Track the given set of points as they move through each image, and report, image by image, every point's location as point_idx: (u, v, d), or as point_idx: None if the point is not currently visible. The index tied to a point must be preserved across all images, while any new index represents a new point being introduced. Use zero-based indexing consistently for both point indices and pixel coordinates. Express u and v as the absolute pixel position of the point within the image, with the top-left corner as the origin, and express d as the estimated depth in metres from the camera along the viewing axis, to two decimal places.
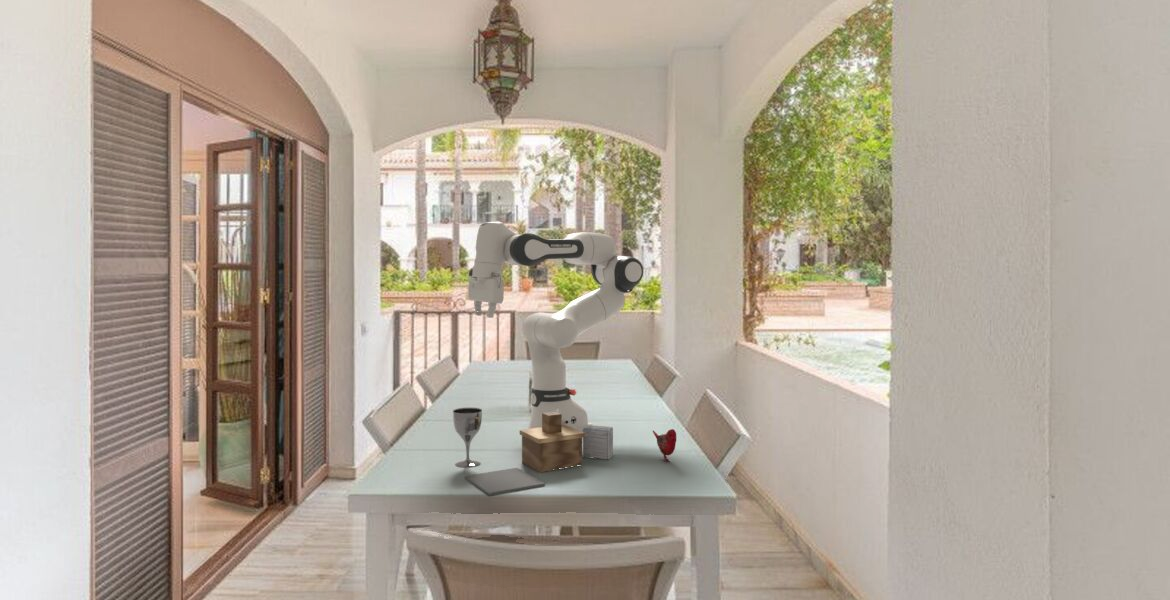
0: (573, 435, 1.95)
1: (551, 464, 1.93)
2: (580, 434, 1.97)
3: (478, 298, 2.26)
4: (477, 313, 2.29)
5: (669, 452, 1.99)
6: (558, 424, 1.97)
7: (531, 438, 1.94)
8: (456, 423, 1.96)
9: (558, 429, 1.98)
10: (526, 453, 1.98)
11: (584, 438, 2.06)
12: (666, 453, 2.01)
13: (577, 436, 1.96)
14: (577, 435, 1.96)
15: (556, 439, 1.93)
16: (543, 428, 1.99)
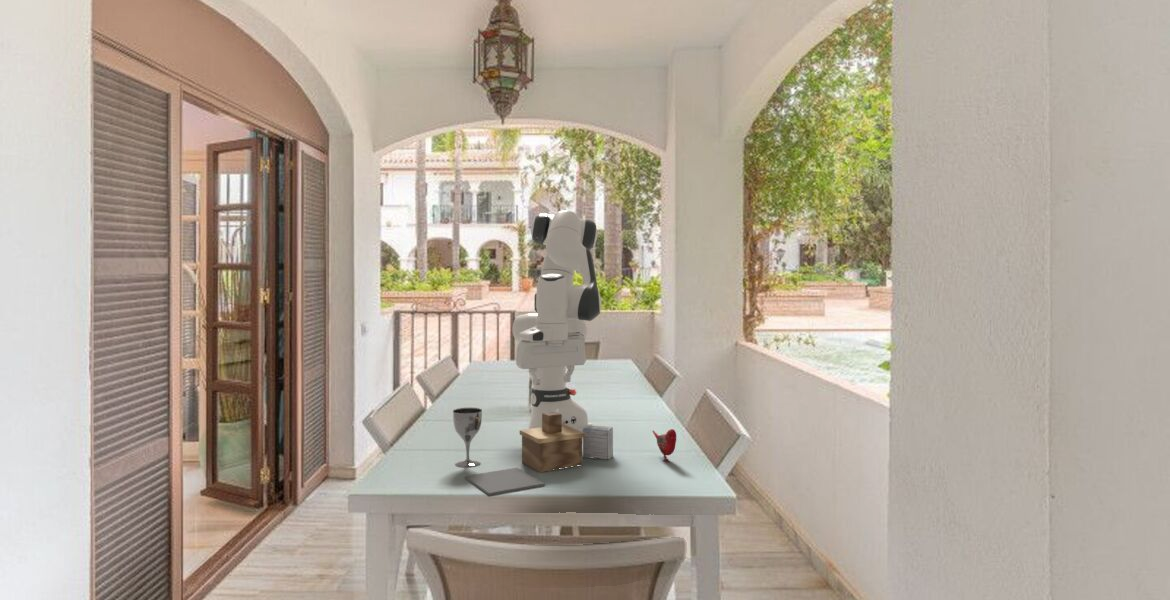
0: (573, 435, 1.95)
1: (551, 464, 1.93)
2: (580, 434, 1.97)
3: (551, 364, 1.96)
4: None
5: (669, 452, 1.99)
6: (558, 424, 1.97)
7: (531, 438, 1.94)
8: (456, 423, 1.96)
9: (558, 429, 1.98)
10: (526, 453, 1.98)
11: (584, 438, 2.06)
12: (666, 453, 2.01)
13: (577, 436, 1.96)
14: (577, 435, 1.96)
15: (556, 439, 1.93)
16: (543, 428, 1.99)
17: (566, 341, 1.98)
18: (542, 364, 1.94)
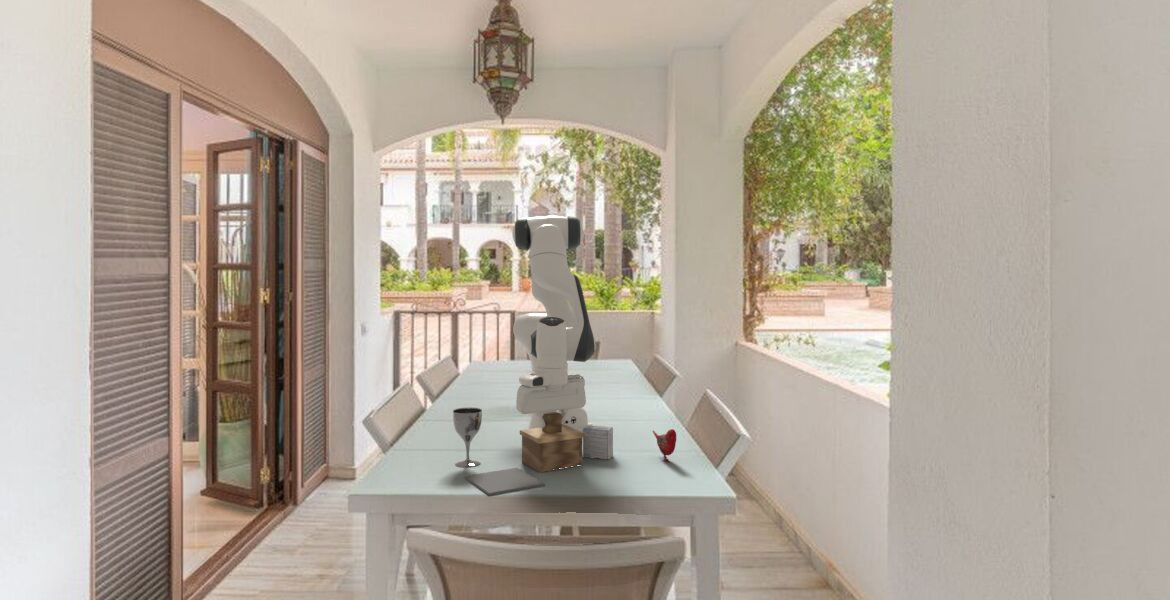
0: (573, 435, 1.95)
1: (551, 464, 1.93)
2: (580, 434, 1.97)
3: (551, 408, 1.96)
4: None
5: (669, 452, 1.99)
6: (558, 424, 1.98)
7: (531, 438, 1.94)
8: (456, 423, 1.96)
9: (558, 429, 1.98)
10: (526, 453, 1.98)
11: (584, 438, 2.06)
12: (666, 453, 2.01)
13: (577, 436, 1.96)
14: (577, 435, 1.96)
15: (556, 439, 1.93)
16: (543, 428, 1.99)
17: (566, 384, 1.98)
18: (542, 408, 1.95)
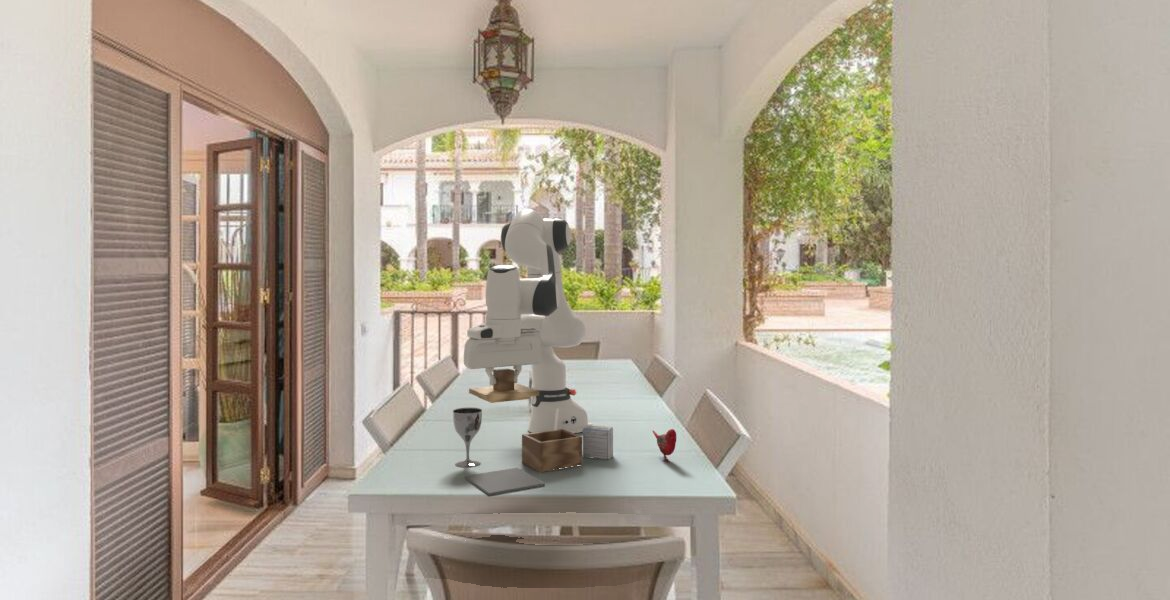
0: (526, 393, 1.79)
1: (551, 464, 1.93)
2: (534, 392, 1.80)
3: (502, 364, 1.80)
4: None
5: (669, 452, 1.99)
6: (510, 381, 1.81)
7: (480, 396, 1.77)
8: (456, 423, 1.96)
9: (510, 387, 1.81)
10: (526, 453, 1.98)
11: (584, 438, 2.06)
12: (666, 453, 2.01)
13: (531, 394, 1.79)
14: (531, 393, 1.79)
15: (507, 396, 1.76)
16: (494, 386, 1.82)
17: (519, 338, 1.82)
18: (492, 363, 1.78)
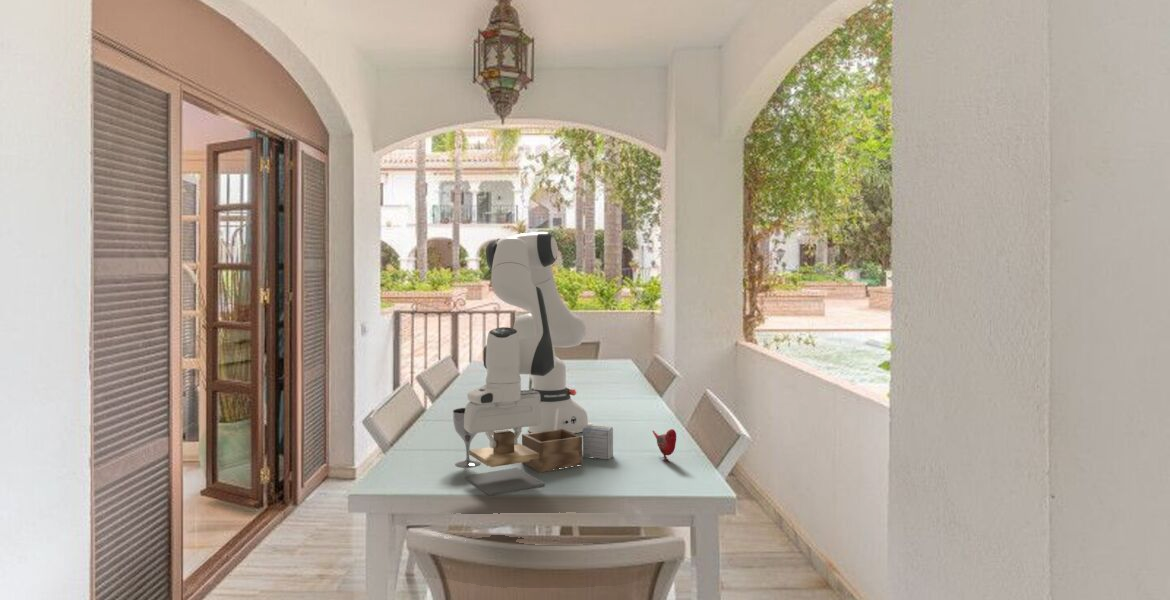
0: (526, 456, 1.80)
1: (551, 464, 1.93)
2: (534, 455, 1.81)
3: (502, 427, 1.80)
4: None
5: (669, 452, 1.99)
6: (510, 444, 1.82)
7: (480, 459, 1.78)
8: (456, 423, 1.96)
9: (510, 449, 1.82)
10: None
11: (584, 438, 2.06)
12: (666, 453, 2.01)
13: (531, 457, 1.80)
14: (531, 456, 1.80)
15: (507, 461, 1.77)
16: (494, 448, 1.83)
17: (519, 401, 1.83)
18: (492, 427, 1.79)
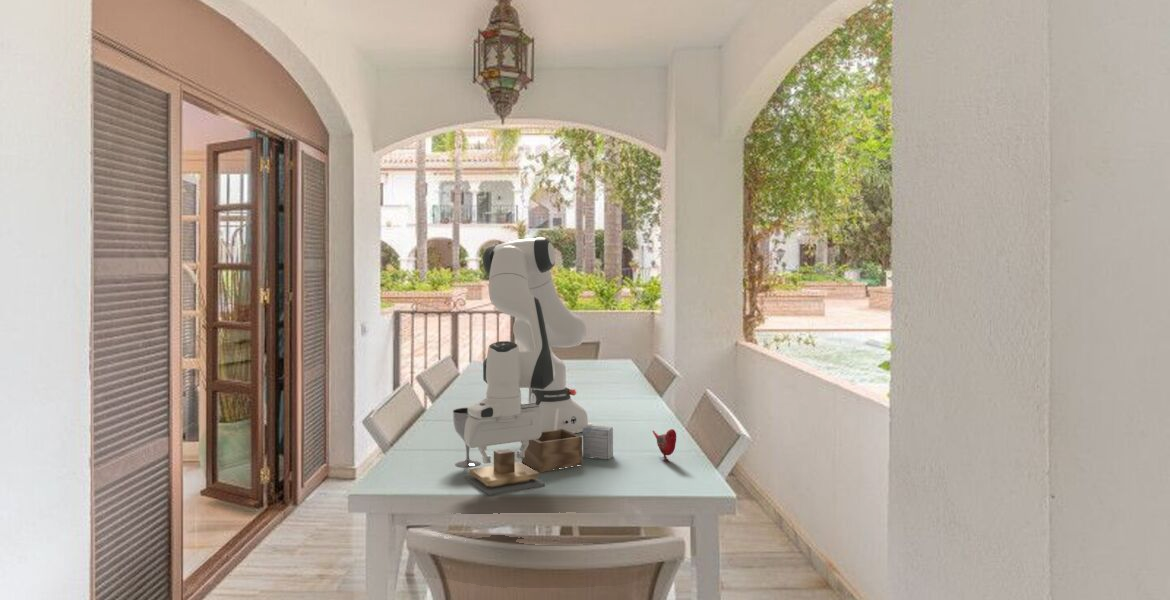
0: (526, 476, 1.80)
1: (551, 464, 1.93)
2: (534, 475, 1.81)
3: (503, 441, 1.81)
4: None
5: (669, 452, 1.99)
6: (511, 463, 1.82)
7: (480, 479, 1.78)
8: (456, 423, 1.96)
9: (511, 469, 1.82)
10: (526, 453, 1.98)
11: (584, 438, 2.06)
12: (666, 453, 2.01)
13: (531, 477, 1.80)
14: (531, 476, 1.80)
15: (507, 481, 1.77)
16: (495, 467, 1.83)
17: (519, 415, 1.83)
18: (492, 441, 1.79)
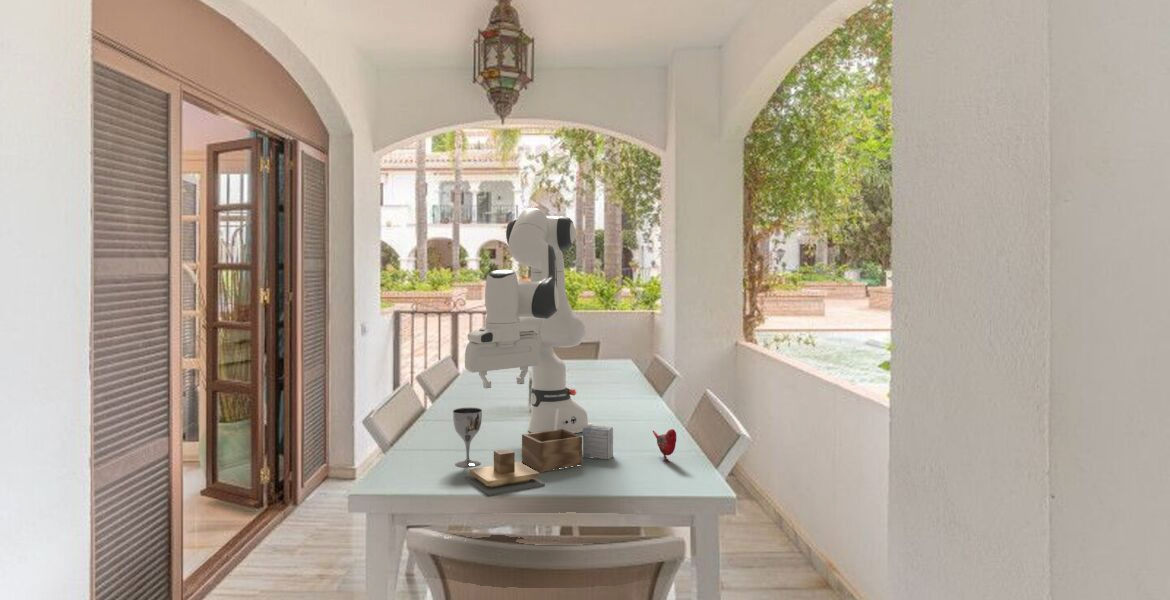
0: (526, 476, 1.80)
1: (551, 464, 1.93)
2: (534, 475, 1.81)
3: (503, 366, 1.84)
4: None
5: (669, 452, 1.99)
6: (511, 463, 1.82)
7: (480, 479, 1.78)
8: (456, 423, 1.96)
9: (511, 469, 1.82)
10: (526, 453, 1.98)
11: (584, 438, 2.06)
12: (666, 453, 2.01)
13: (531, 477, 1.80)
14: (531, 476, 1.80)
15: (507, 481, 1.77)
16: (495, 467, 1.83)
17: (518, 341, 1.86)
18: (492, 366, 1.83)
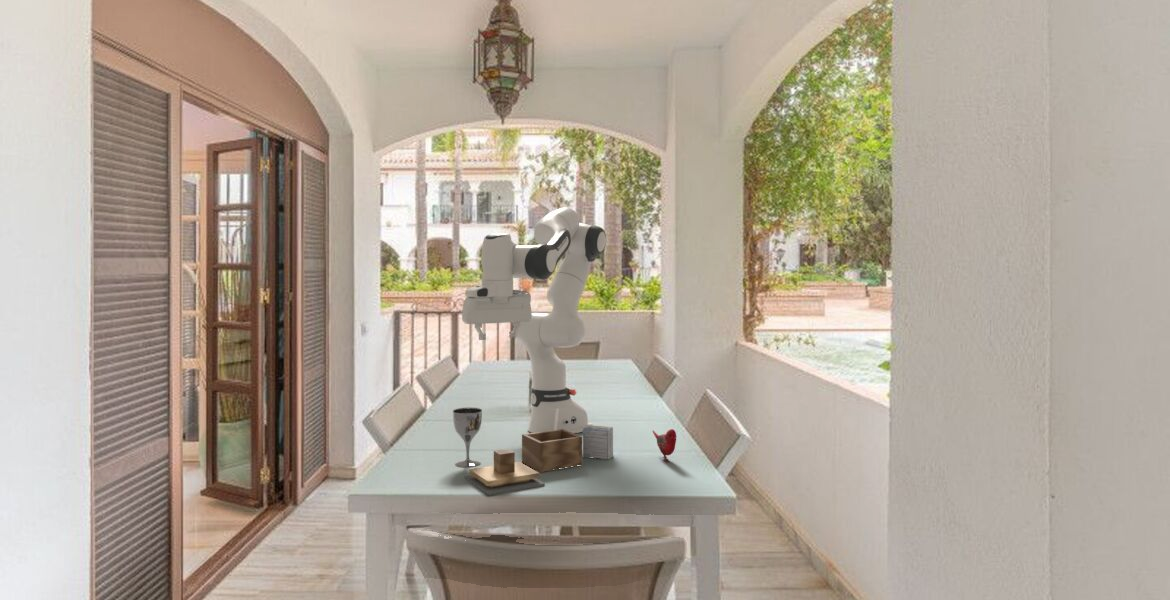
0: (526, 476, 1.80)
1: (551, 464, 1.93)
2: (534, 475, 1.81)
3: (496, 320, 2.02)
4: None
5: (669, 452, 1.99)
6: (511, 463, 1.82)
7: (480, 479, 1.78)
8: (456, 423, 1.96)
9: (511, 469, 1.82)
10: (526, 453, 1.98)
11: (584, 438, 2.06)
12: (666, 453, 2.01)
13: (531, 477, 1.80)
14: (531, 476, 1.80)
15: (507, 481, 1.77)
16: (495, 467, 1.83)
17: (511, 298, 2.04)
18: (487, 320, 2.01)
